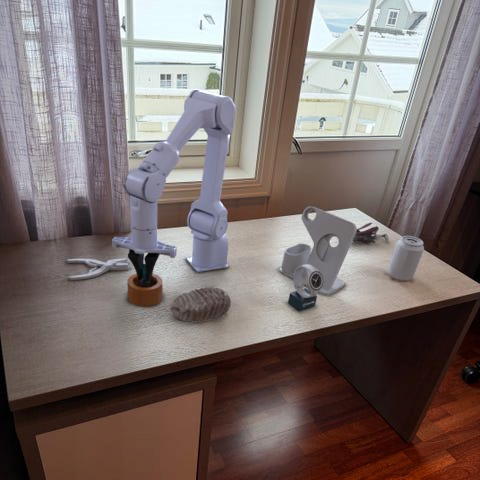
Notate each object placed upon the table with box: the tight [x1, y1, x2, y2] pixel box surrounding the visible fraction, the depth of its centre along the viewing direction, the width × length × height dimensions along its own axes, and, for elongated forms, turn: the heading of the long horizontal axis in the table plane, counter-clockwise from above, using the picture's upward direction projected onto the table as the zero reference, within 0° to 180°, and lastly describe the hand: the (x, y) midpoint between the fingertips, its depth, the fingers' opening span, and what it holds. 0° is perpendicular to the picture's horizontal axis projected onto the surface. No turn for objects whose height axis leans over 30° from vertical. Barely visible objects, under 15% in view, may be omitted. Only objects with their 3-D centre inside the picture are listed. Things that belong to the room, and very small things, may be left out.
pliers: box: [66, 257, 129, 281], centre depth 117 cm, size 10×2×15 cm
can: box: [387, 235, 425, 282], centre depth 129 cm, size 8×8×12 cm
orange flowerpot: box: [126, 272, 164, 307], centre depth 108 cm, size 8×8×5 cm
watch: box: [287, 264, 324, 313], centre depth 111 cm, size 6×8×11 cm
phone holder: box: [279, 205, 358, 296], centre depth 121 cm, size 17×10×18 cm, turn 47°
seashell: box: [170, 286, 232, 323], centre depth 104 cm, size 14×9×10 cm
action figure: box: [352, 222, 390, 244], centre depth 149 cm, size 8×6×18 cm
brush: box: [140, 262, 151, 288], centre depth 106 cm, size 3×3×8 cm
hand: (144, 278), depth 106 cm, fingers closed on brush
